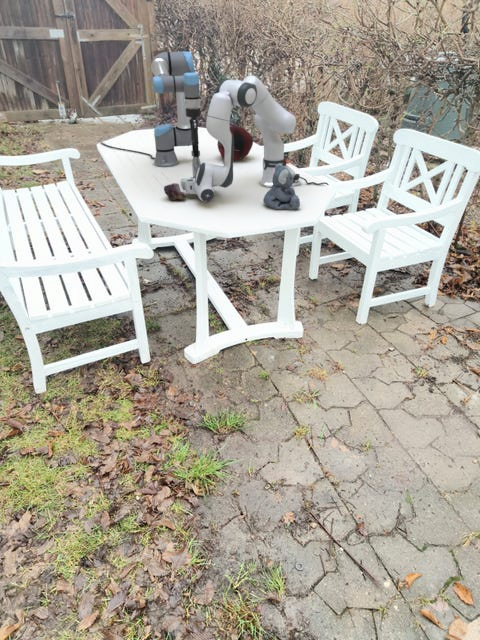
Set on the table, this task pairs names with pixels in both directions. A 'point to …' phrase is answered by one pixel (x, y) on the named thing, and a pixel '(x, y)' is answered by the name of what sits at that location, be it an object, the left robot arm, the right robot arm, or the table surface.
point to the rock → (174, 191)
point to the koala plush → (282, 190)
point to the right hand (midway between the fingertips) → (196, 178)
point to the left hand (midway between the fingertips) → (195, 155)
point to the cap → (193, 153)
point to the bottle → (195, 165)
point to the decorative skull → (238, 143)
